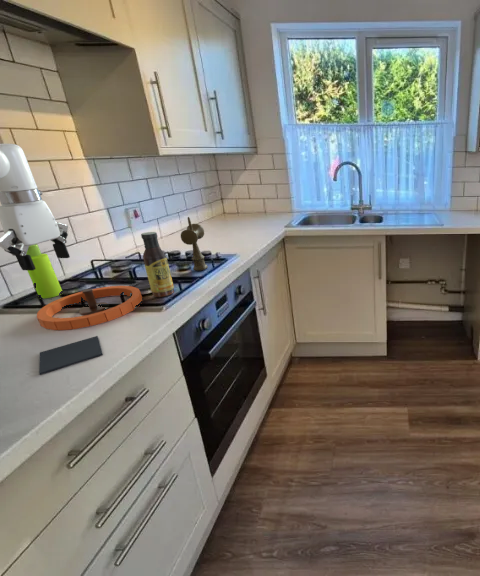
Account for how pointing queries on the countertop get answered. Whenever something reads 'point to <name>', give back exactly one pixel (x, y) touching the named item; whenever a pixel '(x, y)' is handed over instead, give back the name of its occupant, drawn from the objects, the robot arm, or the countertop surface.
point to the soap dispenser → (43, 274)
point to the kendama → (194, 244)
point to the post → (91, 304)
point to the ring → (93, 319)
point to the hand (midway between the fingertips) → (47, 263)
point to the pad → (69, 354)
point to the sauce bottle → (156, 266)
